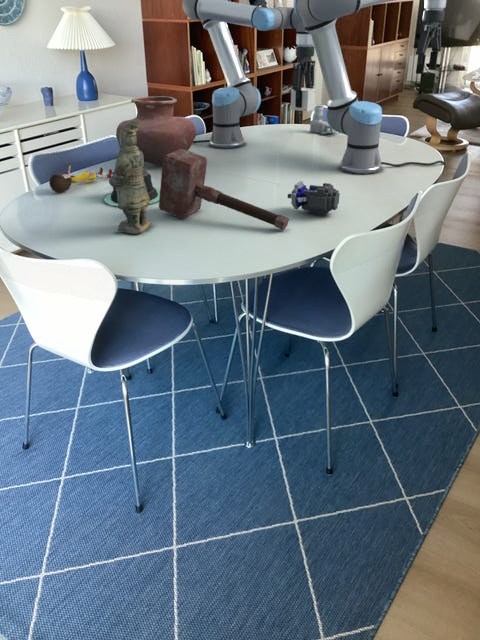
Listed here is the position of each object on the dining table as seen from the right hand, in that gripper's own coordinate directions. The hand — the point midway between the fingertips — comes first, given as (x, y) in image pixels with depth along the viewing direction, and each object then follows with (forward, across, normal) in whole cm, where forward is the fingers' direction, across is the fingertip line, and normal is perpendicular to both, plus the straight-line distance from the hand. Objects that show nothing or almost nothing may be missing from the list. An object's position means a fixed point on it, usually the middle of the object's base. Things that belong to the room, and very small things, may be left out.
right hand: (425, 71), depth 216 cm
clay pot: (+31, +70, -79) cm, 111 cm away
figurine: (+31, +107, -83) cm, 139 cm away
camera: (+31, -13, -50) cm, 60 cm away
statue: (+31, +128, -36) cm, 136 cm away
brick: (+15, +16, -45) cm, 51 cm away
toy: (+31, +88, +1) cm, 93 cm away
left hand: (+14, +16, -46) cm, 50 cm away
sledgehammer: (+31, +108, -18) cm, 114 cm away
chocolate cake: (+31, +107, -57) cm, 125 cm away
